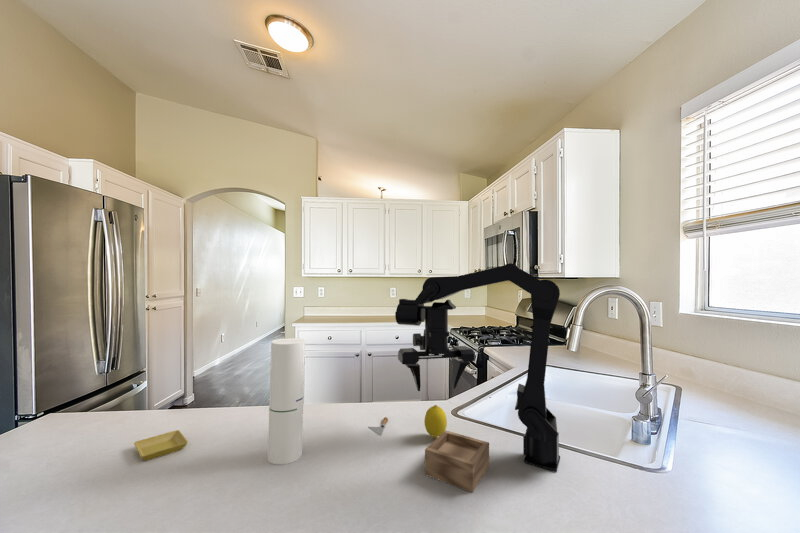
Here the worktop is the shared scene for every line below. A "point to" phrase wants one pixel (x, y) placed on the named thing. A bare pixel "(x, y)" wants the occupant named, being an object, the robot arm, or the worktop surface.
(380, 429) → the putty knife
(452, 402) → the worktop surface
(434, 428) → the lemon
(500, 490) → the worktop surface
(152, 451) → the yellow tray
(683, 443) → the worktop surface
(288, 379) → the cylindrical container
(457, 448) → the walnut box
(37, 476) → the worktop surface
